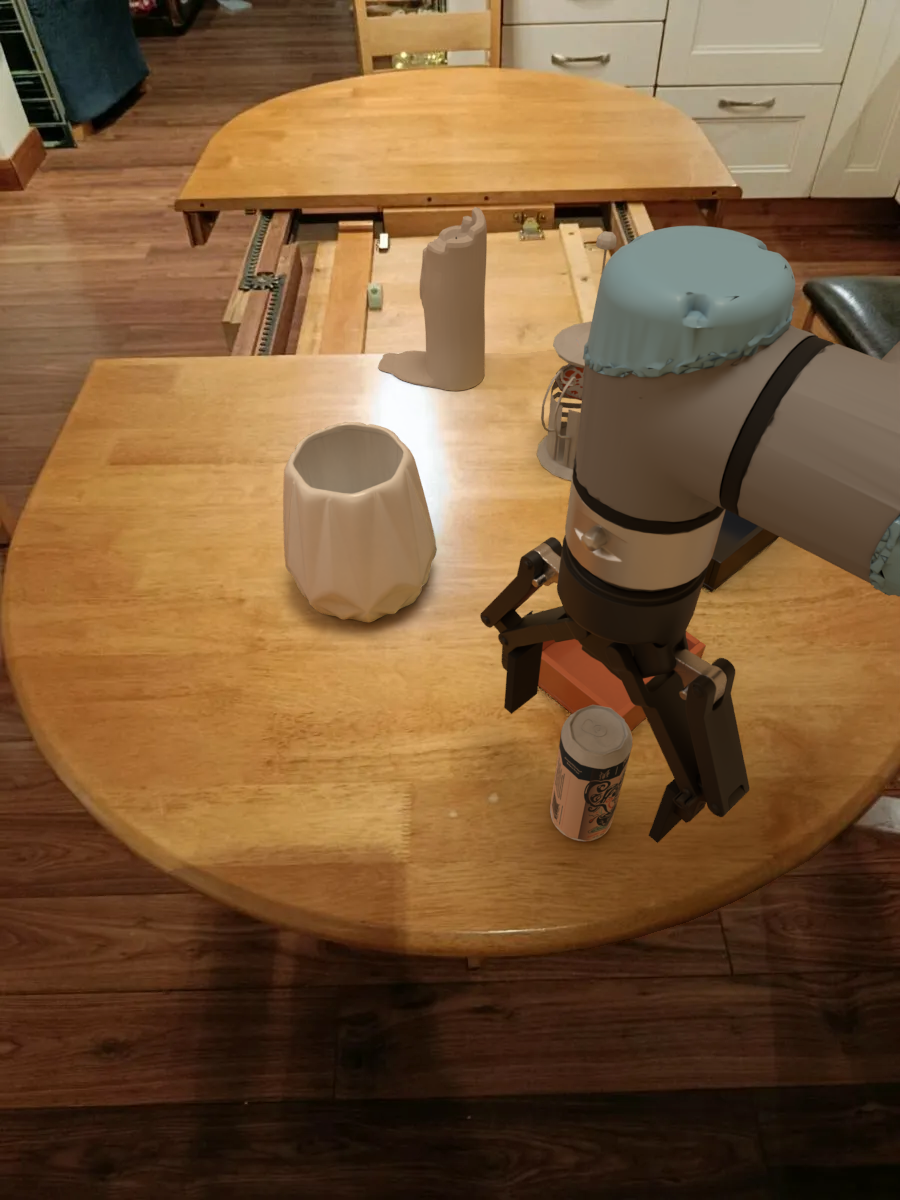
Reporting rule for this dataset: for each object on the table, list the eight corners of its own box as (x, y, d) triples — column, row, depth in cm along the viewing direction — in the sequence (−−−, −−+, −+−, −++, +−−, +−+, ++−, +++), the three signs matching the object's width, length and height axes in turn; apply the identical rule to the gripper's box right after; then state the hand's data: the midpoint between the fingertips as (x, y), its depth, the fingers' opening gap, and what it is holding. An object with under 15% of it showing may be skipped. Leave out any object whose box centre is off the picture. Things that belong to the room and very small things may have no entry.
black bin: (779, 537, 85) (790, 507, 82) (711, 592, 81) (720, 563, 78) (689, 484, 91) (697, 454, 88) (621, 532, 86) (626, 503, 83)
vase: (330, 659, 76) (306, 536, 65) (269, 563, 84) (238, 439, 73) (464, 598, 81) (463, 474, 69) (394, 513, 89) (383, 389, 77)
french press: (642, 451, 95) (684, 230, 76) (578, 502, 89) (607, 277, 71) (572, 416, 100) (596, 199, 81) (508, 463, 94) (517, 241, 75)
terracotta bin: (696, 673, 74) (706, 645, 71) (612, 747, 69) (618, 720, 66) (600, 603, 80) (605, 574, 77) (515, 667, 75) (517, 638, 72)
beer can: (595, 855, 63) (616, 772, 54) (538, 825, 65) (549, 739, 56) (622, 805, 66) (646, 718, 57) (566, 777, 67) (581, 688, 59)
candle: (389, 346, 110) (377, 188, 95) (491, 364, 107) (495, 203, 92) (368, 376, 106) (352, 215, 91) (474, 395, 103) (475, 232, 88)
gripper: (423, 461, 48) (432, 682, 64) (807, 740, 36) (700, 928, 52) (517, 408, 52) (503, 630, 67) (898, 647, 39) (771, 851, 55)
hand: (589, 760), depth 60 cm, fingers open, 13 cm apart
